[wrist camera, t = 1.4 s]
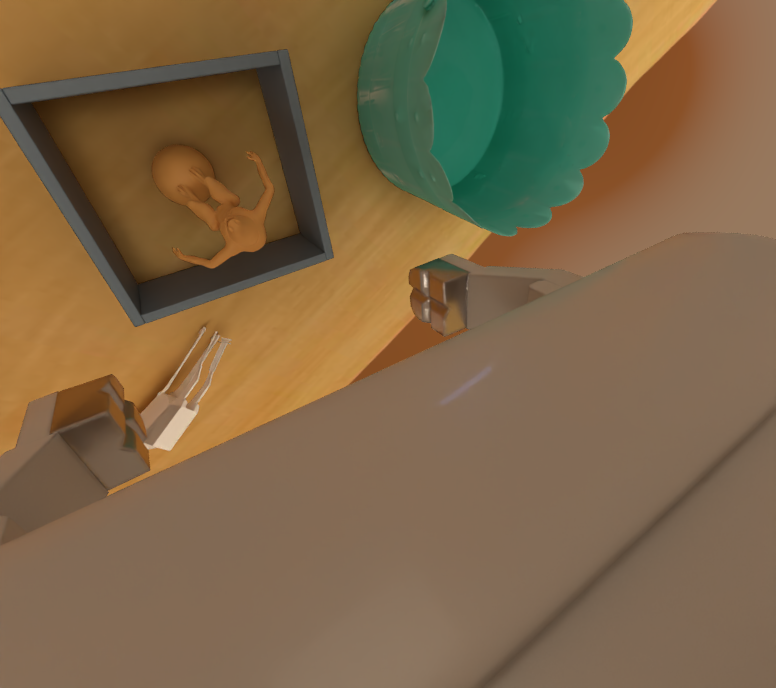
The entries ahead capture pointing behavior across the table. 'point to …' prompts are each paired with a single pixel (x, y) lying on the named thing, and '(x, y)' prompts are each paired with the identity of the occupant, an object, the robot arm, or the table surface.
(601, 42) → the basket
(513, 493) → the robot arm
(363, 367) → the table surface
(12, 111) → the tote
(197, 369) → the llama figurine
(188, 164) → the figurine
